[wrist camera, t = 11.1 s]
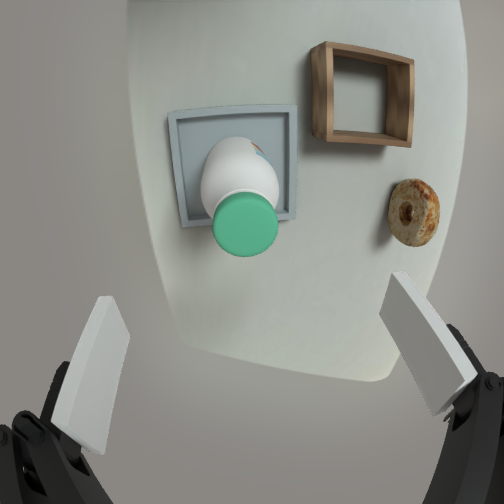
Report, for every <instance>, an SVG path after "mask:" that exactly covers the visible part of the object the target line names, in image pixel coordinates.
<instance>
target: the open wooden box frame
mask: <svg viewBox="0 0 504 504" xmlns="http://www.w3.org/2000/svg"><path fill="white" fill-rule="evenodd" d="M333 56H335V57H342V58H349V59H356V60H361V61H367V62H372V63H377V64H382V65H386V66H387V111H386V131H385V134H379V133H369V132H357V131H342V130H333V108H334V88H333ZM311 67H312V135H313V136H316V137H318V138H320V139H322V140H324V141H326V142H347V143H364V144H377V145H388V146H398V147H407V148H411V145H412V133H413V118H414V87H415V76H414V60H413V59H409V58H406V57H402V56H399V55H395V54H391V53H387V52H383V51H379V50H374V49H369V48H365V47H359V46H354V45H348V44H342V43H335V42H328V41H325V42H323V43H321V44H319V45H317V46H315V47H313V48H311Z"/></svg>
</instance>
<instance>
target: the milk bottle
mask: <svg viewBox="0 0 504 504" xmlns="http://www.w3.org/2000/svg"><path fill="white" fill-rule="evenodd" d="M200 191H201V199H202V203H203V205H204V208H205V210H206V212H207V213H208V215H209V216H210V217H211V218H212V219H213V223H212V226H213V234H214V237H215V239H216V241H217V243H218V244H219V246H220V247H221V248H222V249H223V250H225V251H226V252H228V253H230V254H232V255H235V256H240V257H249V256H254V255H257V254H260V253H262V252H263V251H265V250H266V249H268V248H269V247H270V246H271V245H272V243H273V242H274V240H275V238H276V236H277V233H278V218H277V215H276V212H275V208H276V205H277V203H278V198H279V184H278V179H277V176H276V173H275V171H274V169H273V167H272V165H271V164H270V162H269V160H268V159H267V157H266V156H265V154H264V153H263V152H262V150H261V149H260V148H259V146H258V145H257V144H256V143H254V142H253V141H251V140H250V139H247V138H244V137H239V136H234V137H228V138H225V139H223V140H221V141H219V142H218V143H217V144H216V145H215V146H214V147H213V148H212V149H211V151H210V153H209V155H208V157H207V160H206V163H205V167H204V171H203V174H202V179H201V188H200Z"/></svg>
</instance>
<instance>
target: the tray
mask: <svg viewBox="0 0 504 504" xmlns="http://www.w3.org/2000/svg"><path fill="white" fill-rule="evenodd" d="M168 123H169V133H170V143H171V152H172V160H173V168H174V176H175V184H176V191H177V198H178V205H179V211H180V218H181V224H182V228H186V227H197V226H209V225H212V223H213V219H212V218H211V217H210V216H209V215H208V213H207V212H206V210H205V208H204V205H203V203H202V199H201V191H200V188H201V179H202V174H203V171H204V167H205V163H206V160H207V157H208V155H209V153H210V151H211V149H212V148H213V147H214V146H215V145H216V144H217V143H218V142H219V141H221V140H223V139H225V138H228V137H234V136H239V137H244V138H247V139H250V140H251V141H253V142H254V143H256V144H257V145H258V146H259V148H260V149H261V150H262V152H263V153H264V154H265V156H266V157H267V159H268V160H269V162H270V164H271V165H272V167H273V169H274V171H275V173H276V176H277V179H278V184H279V198H278V203H277V205H276V208H275V212H276V215H277V218H278V220H294V219H296V193H297V105H294V104H259V105H235V106H220V107H209V108H199V109H190V110H182V111H174V112H169V113H168Z"/></svg>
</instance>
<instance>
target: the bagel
mask: <svg viewBox="0 0 504 504" xmlns="http://www.w3.org/2000/svg"><path fill="white" fill-rule="evenodd" d="M413 211H414V213H413ZM439 216H440V205H439V201H438V197H437V195H436V193H435V192H434V190H433V189H432V188H431V187H430V186H429V185H427V184H426V183H425V182H423V181H422V180H419V179H405V180H403V181H401V182H400V183H399V184H398V185H397V186H396V187H395V189H394V191H393V193H392V196H391V199H390V204H389V211H388V221H389V227H390V229H391V232H392V234H393V235H394V236H395V237H396V239H398V240H399V241H400V242H401V243H403V244H405V245H407V246H412V247H419V246H423V245H425V244H426V243H427V242H429V240H430V239H431V238H432V237H433V236H434V234H435V233H436V230H437V227H438V223H439Z"/></svg>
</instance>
